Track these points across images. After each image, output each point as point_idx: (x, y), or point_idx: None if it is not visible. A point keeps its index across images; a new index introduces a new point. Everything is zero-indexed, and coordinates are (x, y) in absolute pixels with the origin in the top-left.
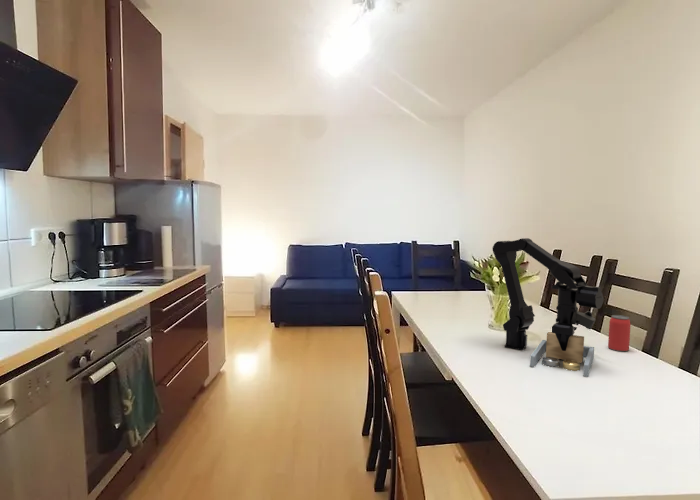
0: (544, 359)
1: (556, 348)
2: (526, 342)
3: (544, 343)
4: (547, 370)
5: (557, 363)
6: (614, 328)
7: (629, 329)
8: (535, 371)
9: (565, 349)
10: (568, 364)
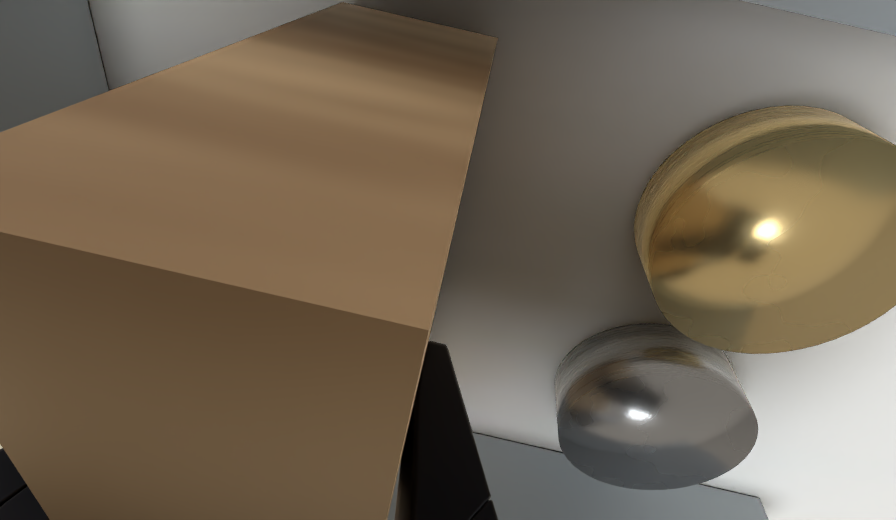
0: (679, 483)
1: None
2: None
3: None
4: (854, 433)
5: (734, 378)
6: None
7: None
8: (882, 504)
9: (451, 367)
10: (884, 308)
